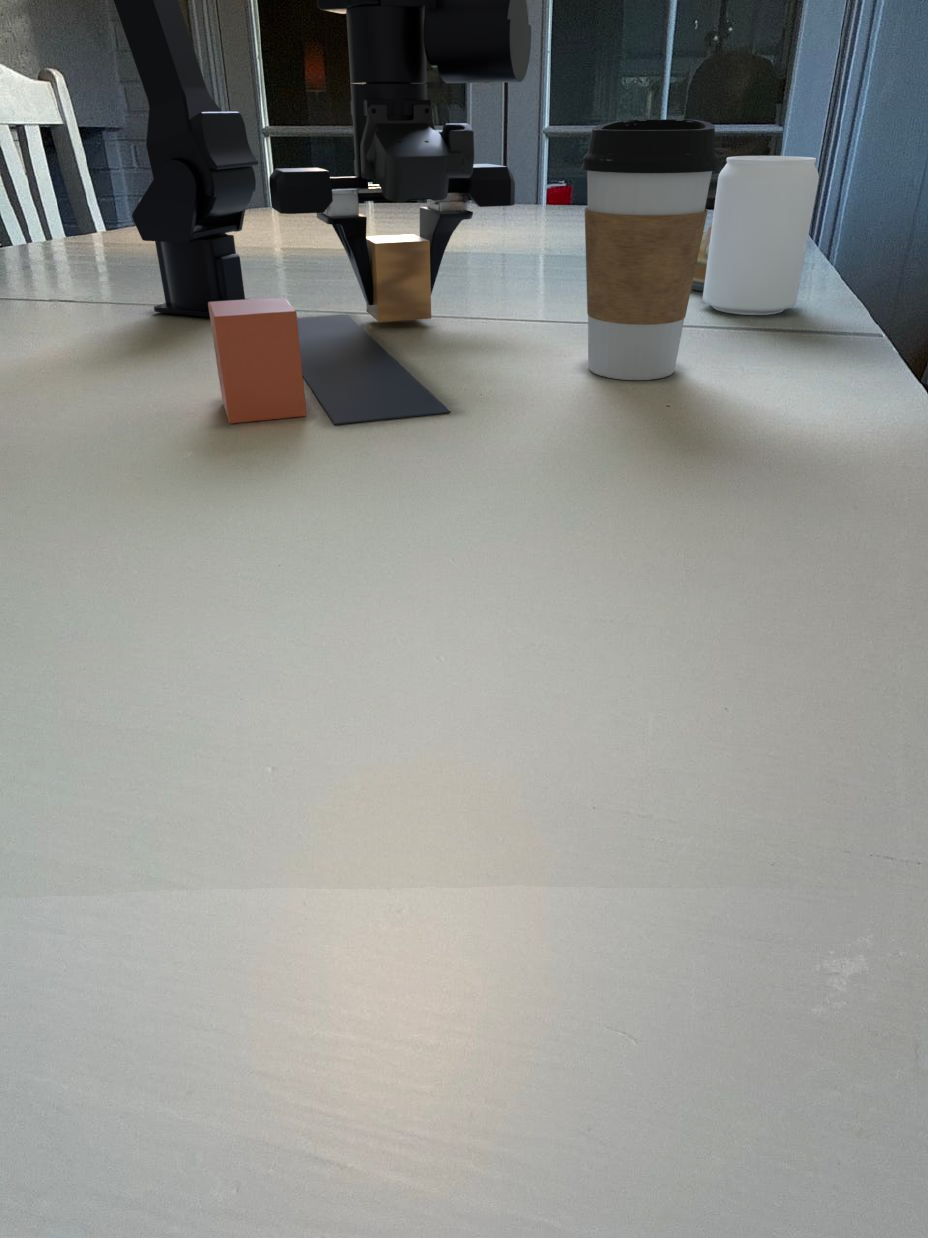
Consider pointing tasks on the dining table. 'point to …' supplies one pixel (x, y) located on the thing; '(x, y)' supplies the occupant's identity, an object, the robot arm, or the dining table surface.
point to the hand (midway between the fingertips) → (397, 302)
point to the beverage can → (760, 233)
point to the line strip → (358, 374)
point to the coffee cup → (643, 240)
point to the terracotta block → (258, 359)
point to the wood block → (400, 277)
